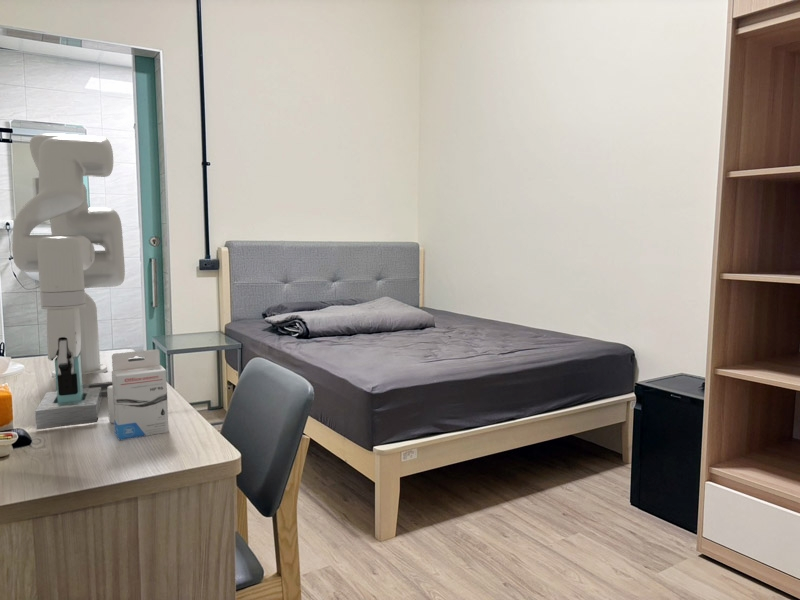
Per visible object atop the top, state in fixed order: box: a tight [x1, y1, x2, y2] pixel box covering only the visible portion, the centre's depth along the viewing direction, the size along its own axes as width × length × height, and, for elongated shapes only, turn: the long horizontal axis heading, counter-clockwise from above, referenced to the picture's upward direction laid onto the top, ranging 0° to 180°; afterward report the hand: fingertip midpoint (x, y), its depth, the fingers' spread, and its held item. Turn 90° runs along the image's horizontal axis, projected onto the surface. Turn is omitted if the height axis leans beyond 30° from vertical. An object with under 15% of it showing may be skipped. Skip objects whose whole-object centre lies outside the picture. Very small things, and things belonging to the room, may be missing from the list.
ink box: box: [111, 348, 170, 441], centre depth 105 cm, size 8×5×15 cm, turn 123°
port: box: [34, 387, 103, 430], centre depth 116 cm, size 14×10×4 cm
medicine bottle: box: [107, 357, 145, 425], centre depth 112 cm, size 7×7×12 cm
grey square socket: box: [82, 381, 112, 398], centre depth 130 cm, size 9×9×2 cm
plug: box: [54, 354, 83, 403], centre depth 116 cm, size 4×4×10 cm
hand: (69, 390), depth 116 cm, fingers closed on plug, 4 cm apart
